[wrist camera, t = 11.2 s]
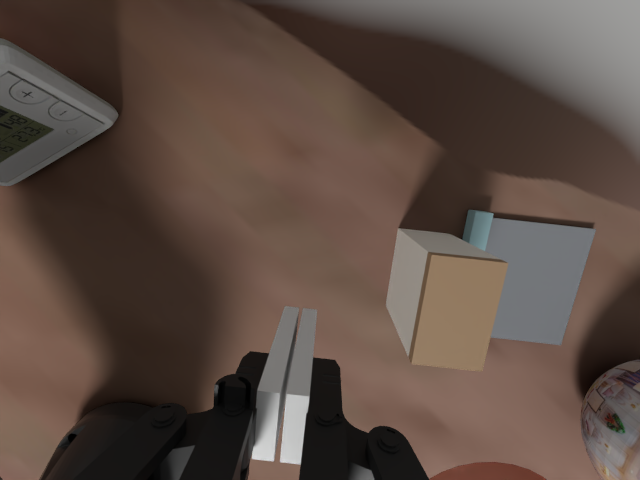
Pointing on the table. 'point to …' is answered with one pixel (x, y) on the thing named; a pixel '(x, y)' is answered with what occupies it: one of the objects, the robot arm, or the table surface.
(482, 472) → the ceramic vessels
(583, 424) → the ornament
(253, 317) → the table surface
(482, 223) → the strip
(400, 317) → the cream block
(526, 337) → the mat
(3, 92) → the digital clock
